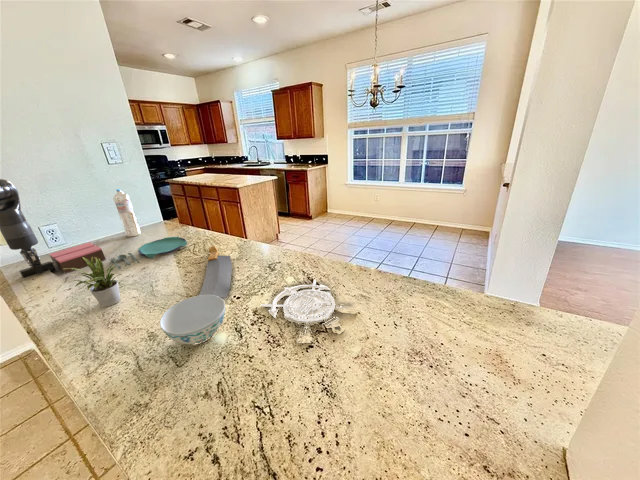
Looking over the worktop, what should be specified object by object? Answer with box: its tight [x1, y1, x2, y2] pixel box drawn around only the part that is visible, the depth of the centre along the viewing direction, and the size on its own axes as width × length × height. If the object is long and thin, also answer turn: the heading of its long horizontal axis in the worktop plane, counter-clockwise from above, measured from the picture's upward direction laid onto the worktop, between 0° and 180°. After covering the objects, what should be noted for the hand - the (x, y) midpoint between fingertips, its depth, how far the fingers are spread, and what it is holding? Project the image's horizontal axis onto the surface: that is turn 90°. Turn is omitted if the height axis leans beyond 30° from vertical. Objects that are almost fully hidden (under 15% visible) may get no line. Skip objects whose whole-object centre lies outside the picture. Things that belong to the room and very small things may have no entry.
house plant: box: [65, 256, 123, 308], centre depth 82 cm, size 14×14×16 cm
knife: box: [19, 260, 60, 279], centre depth 109 cm, size 22×2×4 cm, turn 146°
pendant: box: [259, 278, 349, 333], centre depth 77 cm, size 21×28×1 cm
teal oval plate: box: [109, 236, 188, 270], centre depth 120 cm, size 20×30×2 cm, turn 138°
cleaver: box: [197, 245, 233, 300], centre depth 100 cm, size 4×10×40 cm
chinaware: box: [159, 294, 226, 345], centre depth 68 cm, size 15×15×8 cm
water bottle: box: [112, 188, 142, 238], centre depth 139 cm, size 7×7×25 cm
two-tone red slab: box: [48, 242, 107, 275], centre depth 113 cm, size 14×14×6 cm
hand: (40, 274), depth 104 cm, fingers closed on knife, 2 cm apart
